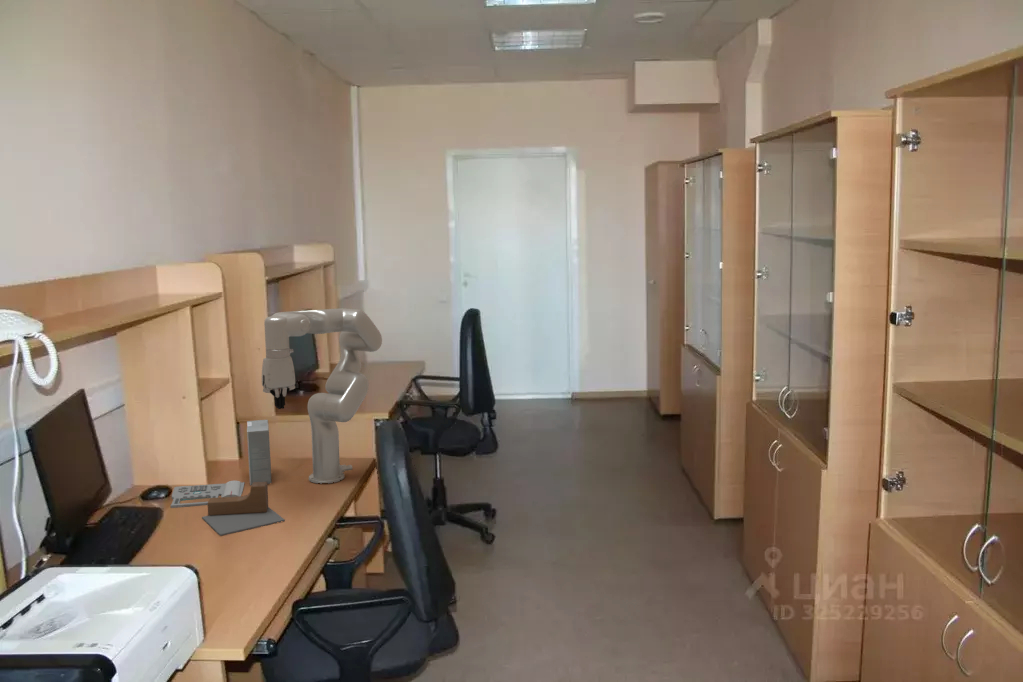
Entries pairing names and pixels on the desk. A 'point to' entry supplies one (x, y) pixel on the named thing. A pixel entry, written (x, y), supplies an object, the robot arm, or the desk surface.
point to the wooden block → (241, 502)
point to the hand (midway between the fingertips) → (280, 408)
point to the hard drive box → (259, 451)
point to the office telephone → (205, 493)
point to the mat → (241, 521)
